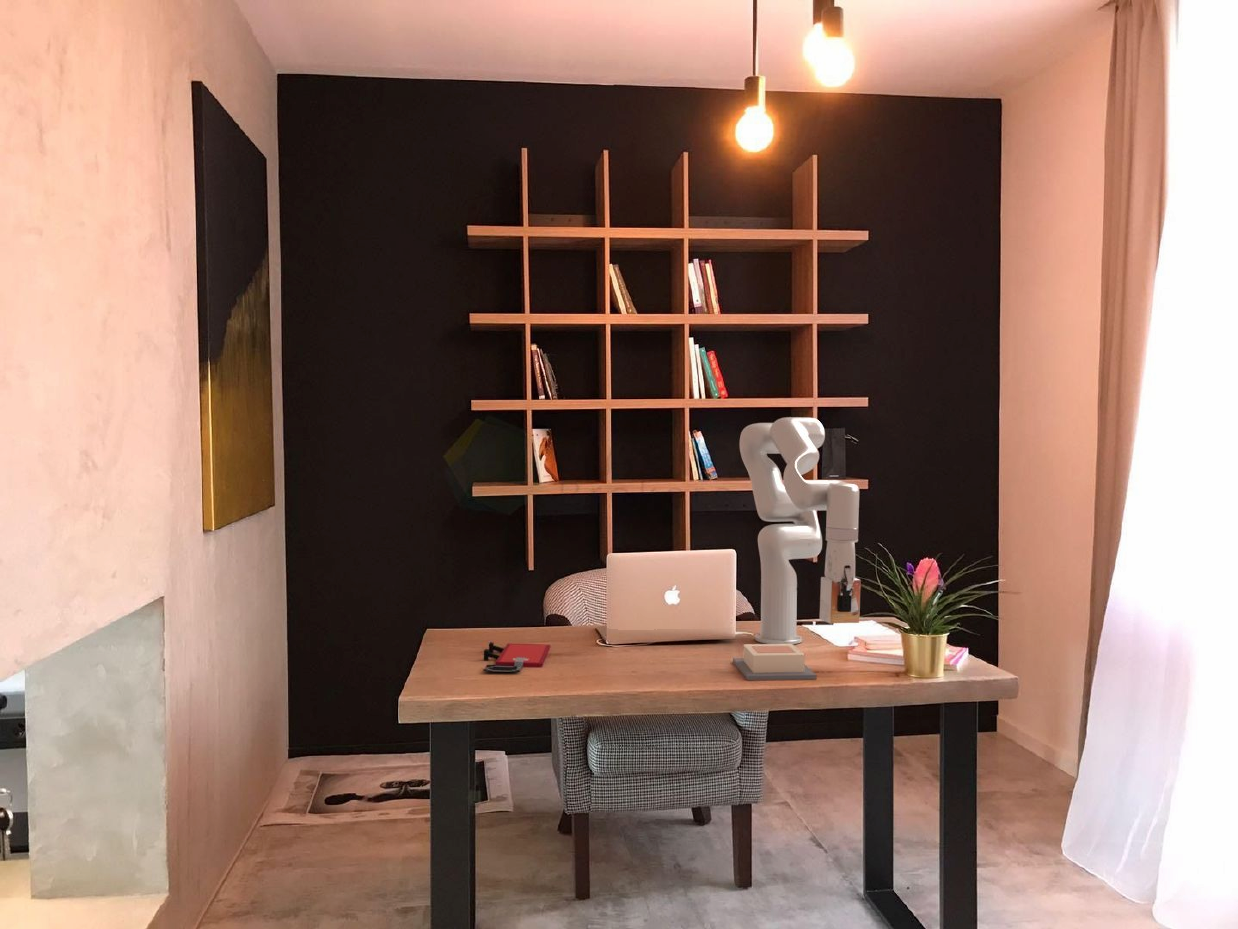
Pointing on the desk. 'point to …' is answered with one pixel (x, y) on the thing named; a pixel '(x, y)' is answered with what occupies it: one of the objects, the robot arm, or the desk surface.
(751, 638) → the desk surface
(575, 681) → the desk surface
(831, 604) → the small box
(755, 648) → the build board
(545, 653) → the red board with handle
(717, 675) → the desk surface
